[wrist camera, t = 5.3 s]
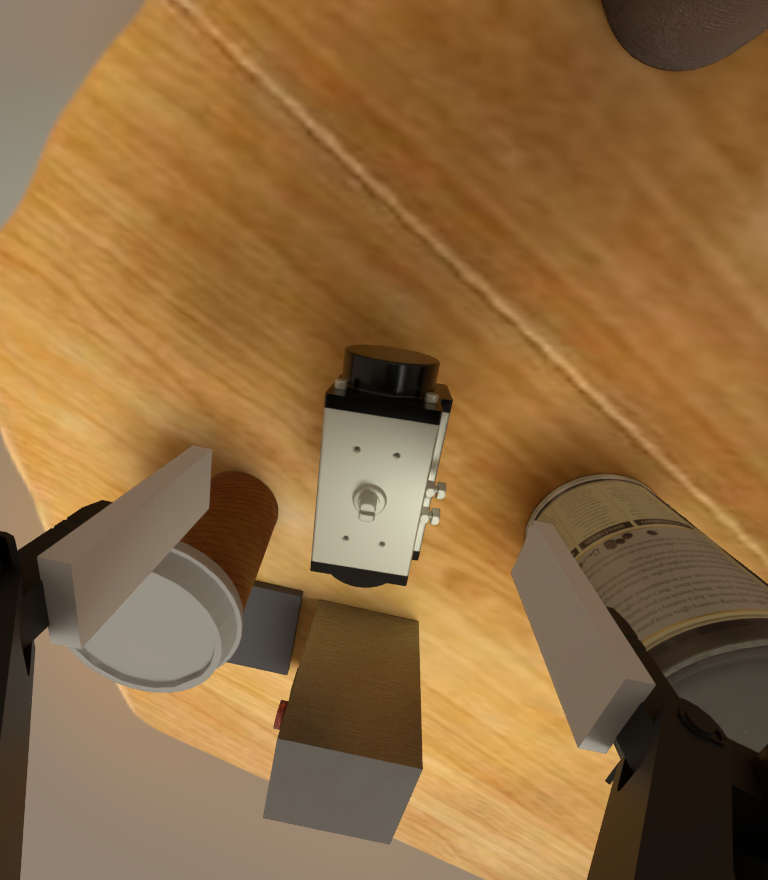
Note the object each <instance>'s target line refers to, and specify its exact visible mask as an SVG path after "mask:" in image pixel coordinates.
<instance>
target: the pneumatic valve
mask: <svg viewBox="0 0 768 880" xmlns="http://www.w3.org/2000/svg"><path fill="white" fill-rule="evenodd" d="M439 366H440V362H439V361H438V360H437V359H436V358H434V357H431V356H429V355H425V354H422V353H418V352H414V351H409V350H404V349H399V348H393V347H385V346H375V345H351V346H348V347H346V348H345V353H344V363H343V373H342V374H341V375H340V377H339V378H337V379H335V382H334V383H333V385H332V386H331V387H330V388H329V389H328V390H327V391H326V393H325V405H324V416H323V428H322V440H321V451H320V463H319V475H318V486H317V498H316V510H315V522H314V533H313V545H312V557H311V568H310V570H311V571H314V572H321V573H327V574H331V575H332V576H334V577H335V578H336V579H338V580H339V581H341V582H343V583H345V584H348V585H351V586H355V587H363V588H369V587H377V586H381V585H383V584H386V583H390V584H396V585H402V586H406V585H407V580H408V575H409V570H410V566H411V561H412V560H418V559H419V554H420V549H421V545H422V540H423V536H424V531H425V526H426V523H428V520H429V519H430V524H433V525H438V523H439V519H440V509H437V508H432V511H431V512H430V503H431V499H432V498H433V496H434V494H436V499H444V498H445V493H446V483H443V482H438V484H437V486H435V480H436V476H437V471H438V466H439V462H440V457H441V453H442V448H443V443H444V439H445V434H446V430H447V425H448V420H449V416H450V411H451V407H452V402H453V399H452V397H451V394H450V392H449V389H448V387H447V385H444V384H438V383H436V381H437V376H438V371H439Z"/></svg>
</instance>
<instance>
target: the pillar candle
mask: <svg viewBox="0 0 768 880" xmlns="http://www.w3.org/2000/svg"><path fill="white" fill-rule="evenodd" d="M603 4H604V8H605V12H606V15H607V17H608V20H609V22H610V24H611V27H612V30H613V32H614V34H615V35H616V37H617V39H618V40H619V42H620V43H621V44H622V46H623V47H624V48H625V49H626V50H627V51H628V52H629V53H630V54H631V55H632V56H633V57H635V58H637V59H639V60H640V61H642V62H643V63H645V64H647V65H649V66H652V67H655V68H658V69H663V70H670V71H682V70H693V69H696V68H700V67H704V66H706V65H710V64H712V63H715V62H717V61H719V60H720V59H722V58H724V57H726V56H728V55H730V54H731V53H733V52H735V51H736V50H738V49H739V48H741V47H742V46H744V45H745V44H747V43H748V42H750V41H751V40H752V39H754V38H755V37H757V36H758V35H759V34H761V33H762V32H764V31H765V30H766V29H768V0H603Z"/></svg>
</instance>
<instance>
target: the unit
mask: <svg viewBox="0 0 768 880" xmlns="http://www.w3.org/2000/svg"><path fill="white" fill-rule="evenodd" d="M274 729H278V730H280V731H279V735H278V738H277V743H276V749H275V754H274V760H273V765H272V771H271V776H270V782H269V787H268V793H267V799H266V804H265V809H264V815H263V818H266V819H270V820H275V821H280V822H284V823H289V824H294V825H299V826H304V827H309V828H313V829H318V830H323V831H328V832H333V833H337V834H342V835H347V836H351V837H357V838H361V839H366V840H371V841H375V842H380V843H386V844H390V842H391V841H392V838H393V836H394V834H395V831H396V829H397V827H398V825H399V822H400V820H401V818H402V815H403V813H404V811H405V809H406V806H407V804H408V802H409V799H410V797H411V795H412V793H413V790H414V788H415V786H416V783H417V781H418V779H419V777H420V774H421V772H422V770H423V764H422V727H421V690H420V653H419V622H418V621H414V620H409V619H405V618H400V617H396V616H391V615H387V614H382V613H378V612H373V611H368V610H364V609H359V608H355V607H350V606H346V605H341V604H337V603H332V602H328V601H323V600H319V601H318V604H317V608H316V611H315V614H314V618H313V621H312V624H311V628H310V631H309V634H308V638H307V641H306V645H305V648H304V651H303V655H302V658H301V661H300V665H299V668H297V672H296V675H295V678H294V682H293V685H292V688H291V692H290V697H289V701H284V700H281V702H280V705H279V708H278V711H277V715H276V719H275V723H274Z"/></svg>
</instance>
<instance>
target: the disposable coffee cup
mask: <svg viewBox="0 0 768 880" xmlns="http://www.w3.org/2000/svg"><path fill="white" fill-rule="evenodd" d="M277 518H278V506H277V503H276V500H275V497H274V496H273V494H272V492H271V491H270V490H269V489H268V487H267V486H266V485H264V484H263V483H262V482H261V481H260V480H258V479H256V478H254V477H253V476H250V475H247V474H244V473H239V472H225V473H221V474H218V475H216V476H214V477H212V478H211V482H210V501H209V509H208V510H207V511H206V512H205V513H204V515H203V516H202V517H201V518H200V519H199V520H198V521H197V522H196V523H195V524H194V526H193V527H192V528H191V529H190V530H189V531H188V532H187V533H186V534H185V536H184V537H183V538H182V539H181V540H180V541H179V542H178V543H177V544H176V545H175V547H174V548H173V549H172V550H171V551H170V552H169V553H168V554H167V555H166V556H165V558H164V559H163V560H162V561H161V562H160V563H159V564H158V565H157V566H156V567H155V569H154V570H153V571H152V572H151V573H150V574H149V575H148V576H147V577H146V578H145V580H144V581H143V582H142V583H141V584H140V585H139V586H138V587H137V588H136V589H135V591H134V592H133V593H132V594H131V595H130V596H129V597H128V598H127V599H126V600H125V602H124V603H123V604H122V605H121V606H120V607H119V608H118V609H117V610H116V611H115V613H114V614H113V615H112V616H111V617H110V618H109V619H108V620H107V621H106V622H105V624H104V625H103V626H102V627H101V628H100V629H99V630H98V631H97V632H96V633H95V635H94V636H93V637H92V638H91V639H90V640H89V641H88V642H87V643H86V644H85V646H84V647H83V648H82V649H78V648H73V647H68V646H67V647H68V648H69V649H70V651H71V652H72V653H73V654H74V655H75V656H76V657H78V659H79V660H80V661H81V662H82V663H84V664H85V665H87V666H88V667H89V668H91V669H92V670H94V671H95V672H97V673H98V674H100V675H102V676H104V677H105V678H107V679H109V680H111V681H113V682H115V683H118V684H121V685H124V686H127V687H130V688H133V689H137V690H142V691H147V692H160V693H171V692H178V691H184V690H187V689H190V688H193V687H195V686H197V685H199V684H201V683H203V682H204V681H205V680H207V679H208V678H209V677H210V676H211V675H212V674H213V672H214V671H215V670H216V669H217V668H218V667H220V666H221V665H223V664H224V663H226V662H227V661H228V660H229V659H230V658H231V657H232V655H233V654H234V652H235V651H236V650H237V647H238V645H239V643H240V640H241V637H242V630H243V613H244V609H245V607H246V604H247V601H248V599H249V596H250V593H251V590H252V587H253V585H254V582H255V578H256V577H257V574H258V571H259V568H260V565H261V562H262V560H263V557H264V554H265V551H266V549H267V546H268V543H269V540H270V538H271V535H272V532H273V529H274V526H275V524H276V521H277Z"/></svg>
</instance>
